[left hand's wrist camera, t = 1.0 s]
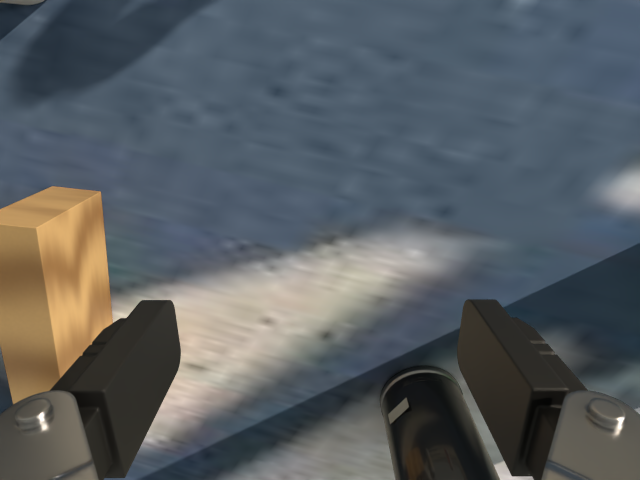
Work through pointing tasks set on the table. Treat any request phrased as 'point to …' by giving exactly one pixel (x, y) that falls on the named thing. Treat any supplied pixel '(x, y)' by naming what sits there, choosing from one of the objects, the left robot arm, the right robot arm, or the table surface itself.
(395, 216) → the table surface
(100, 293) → the bar
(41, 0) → the coffee cup
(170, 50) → the table surface
